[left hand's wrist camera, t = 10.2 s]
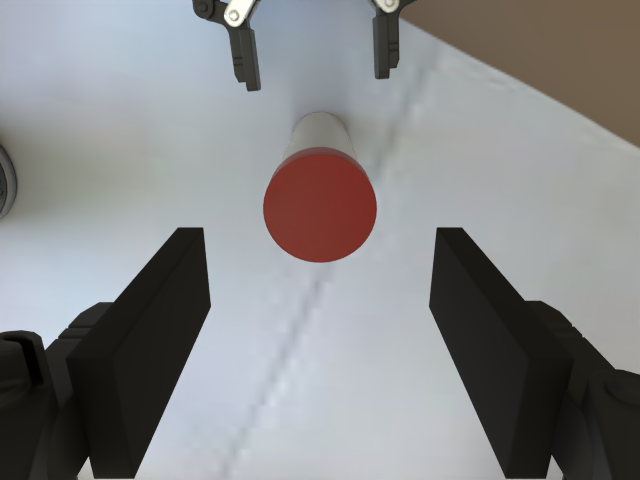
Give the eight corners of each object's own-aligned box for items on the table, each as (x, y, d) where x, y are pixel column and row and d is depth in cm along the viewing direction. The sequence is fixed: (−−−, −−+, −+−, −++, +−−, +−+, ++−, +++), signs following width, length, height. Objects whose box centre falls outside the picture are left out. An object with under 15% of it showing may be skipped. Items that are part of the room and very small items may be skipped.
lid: (357, 256, 22) (360, 272, 21) (259, 235, 22) (253, 250, 20) (384, 160, 21) (390, 168, 19) (278, 135, 20) (275, 142, 19)
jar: (340, 173, 38) (357, 264, 21) (287, 161, 38) (259, 244, 21) (354, 119, 37) (384, 169, 19) (298, 105, 36) (278, 145, 19)
